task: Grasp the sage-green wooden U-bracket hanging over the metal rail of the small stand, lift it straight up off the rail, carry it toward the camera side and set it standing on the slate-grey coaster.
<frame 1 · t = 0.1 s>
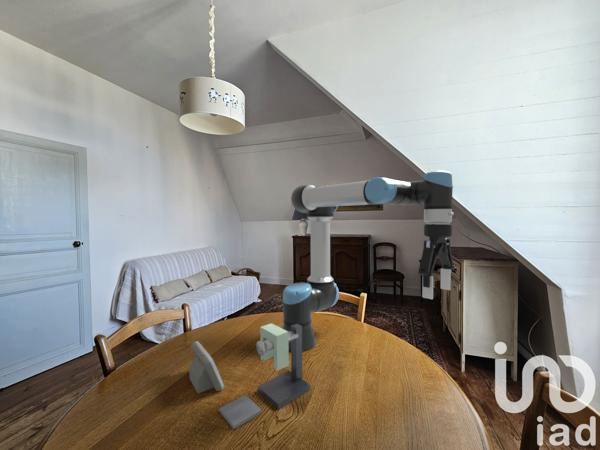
hand: (437, 293, 80), 28 cm above the table, fingers open, 13 cm apart
bracket: (274, 362, 76), point 10 cm above the table, touching stand
digital clock: (207, 381, 83), on the table
coaster: (240, 412, 70), on the table
stand: (284, 390, 78), on the table
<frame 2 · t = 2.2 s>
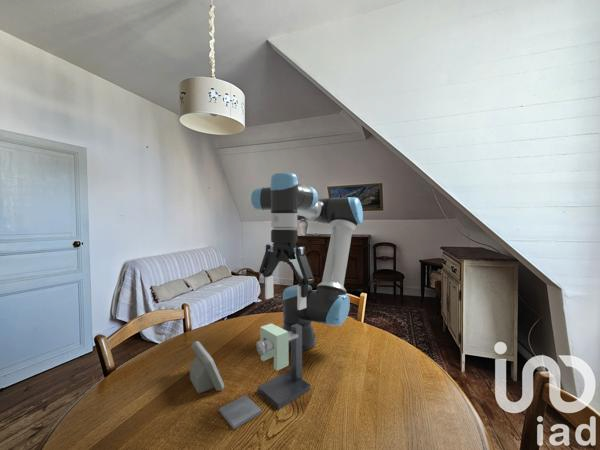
hand: (284, 303, 75), 27 cm above the table, fingers open, 13 cm apart
nothing on the table moved.
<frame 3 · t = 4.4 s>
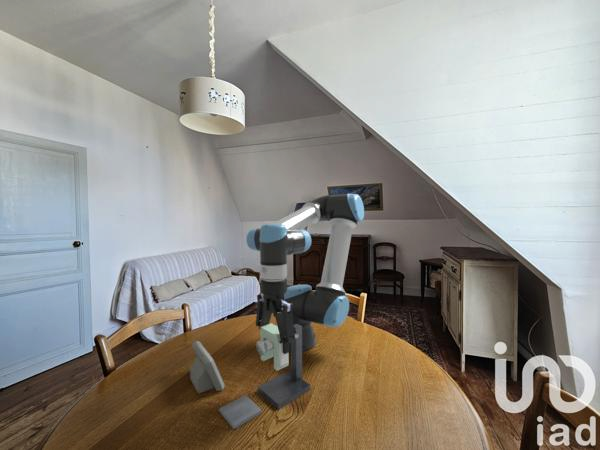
hand: (274, 357, 76), 11 cm above the table, fingers closed on bracket, 8 cm apart
bracket: (274, 362, 76), point 10 cm above the table, touching gripper, stand
everything else where it was.
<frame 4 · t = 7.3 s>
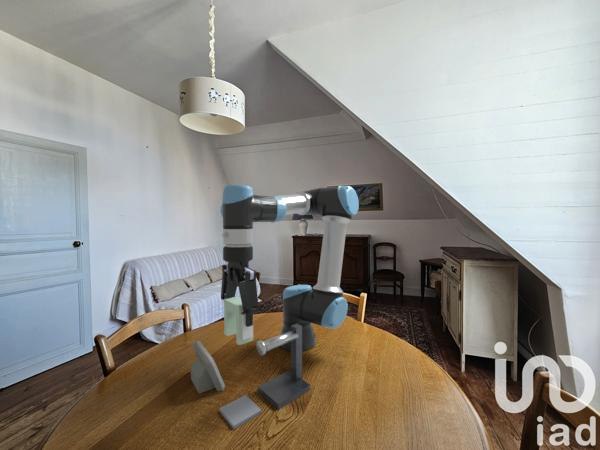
hand: (238, 332, 69), 21 cm above the table, fingers closed on bracket, 8 cm apart
bracket: (238, 337, 69), point 20 cm above the table, touching gripper
everything else where it was.
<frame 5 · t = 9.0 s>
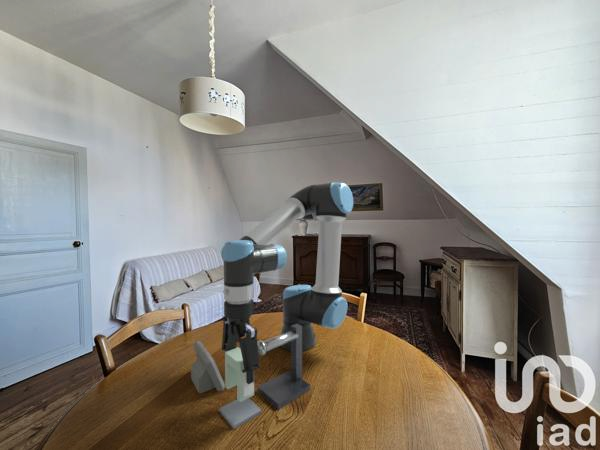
hand: (239, 385, 69), 7 cm above the table, fingers closed on bracket, 8 cm apart
bracket: (239, 390, 69), point 6 cm above the table, touching gripper
everything else where it was.
when the fingers open (3 cm above the table, at t = 10.2 s): bracket drops 1 cm, resting on coaster.
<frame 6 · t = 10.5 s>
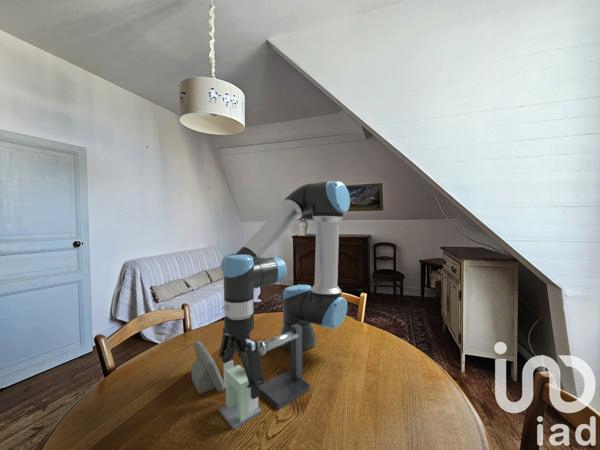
hand: (240, 396, 69), 4 cm above the table, fingers open, 12 cm apart
bracket: (240, 409, 70), point 1 cm above the table, touching coaster
everything else where it was.
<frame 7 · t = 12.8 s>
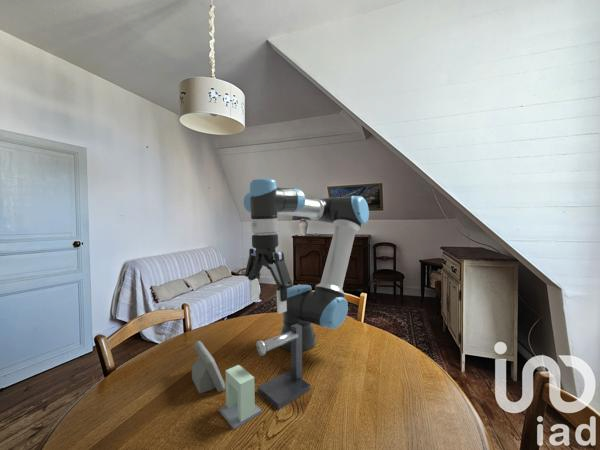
hand: (267, 306, 77), 25 cm above the table, fingers open, 13 cm apart
nothing on the table moved.
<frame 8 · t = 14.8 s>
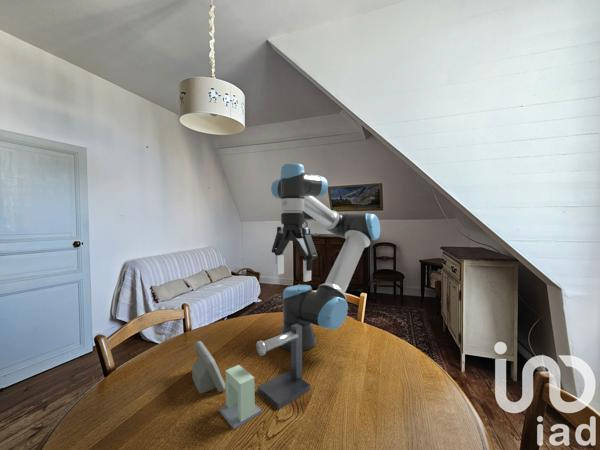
hand: (293, 277, 86), 32 cm above the table, fingers open, 13 cm apart
nothing on the table moved.
at the end: bracket inside the target area on the coaster (0.0 cm from its centre), point 0.8 cm above the coaster's base; bracket tilted 0°; the gripper is holding nothing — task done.
